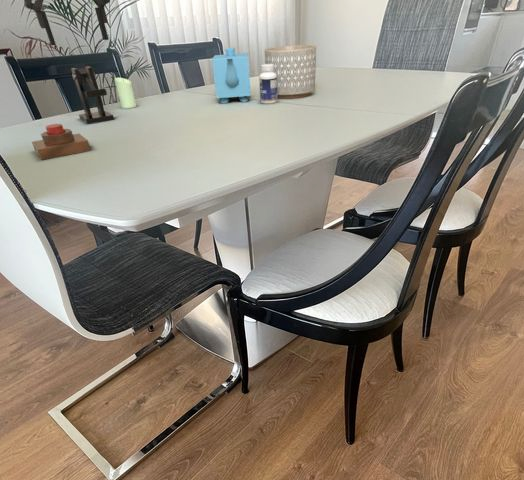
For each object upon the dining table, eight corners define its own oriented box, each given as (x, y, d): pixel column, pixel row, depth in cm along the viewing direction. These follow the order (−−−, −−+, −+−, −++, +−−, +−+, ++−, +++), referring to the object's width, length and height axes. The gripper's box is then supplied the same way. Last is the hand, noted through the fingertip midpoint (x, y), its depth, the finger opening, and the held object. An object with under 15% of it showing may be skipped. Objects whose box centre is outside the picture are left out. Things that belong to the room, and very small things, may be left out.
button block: (41, 160, 86) (33, 140, 83) (35, 151, 92) (28, 133, 89) (91, 150, 90) (84, 131, 87) (82, 143, 96) (76, 124, 93)
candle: (139, 105, 132) (132, 76, 126) (132, 108, 128) (125, 78, 123) (126, 105, 133) (118, 76, 127) (119, 108, 129) (111, 78, 124)
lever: (107, 97, 108) (105, 88, 106) (88, 100, 106) (85, 91, 104) (92, 76, 113) (90, 67, 111) (73, 79, 111) (71, 69, 109)
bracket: (114, 119, 116) (100, 67, 107) (87, 124, 113) (70, 70, 104) (105, 114, 122) (91, 65, 114) (80, 119, 119) (63, 68, 111)
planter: (256, 97, 130) (254, 50, 122) (286, 89, 139) (285, 45, 131) (295, 101, 122) (295, 50, 113) (324, 92, 131) (326, 45, 122)
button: (50, 137, 87) (46, 128, 86) (47, 134, 89) (44, 125, 88) (66, 134, 88) (63, 125, 87) (63, 131, 90) (60, 123, 89)
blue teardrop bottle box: (219, 96, 137) (214, 47, 128) (250, 93, 137) (247, 44, 127) (216, 108, 120) (209, 52, 111) (251, 105, 120) (247, 50, 111)
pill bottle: (257, 103, 123) (254, 65, 117) (268, 100, 126) (267, 63, 119) (269, 104, 120) (267, 66, 114) (280, 101, 123) (280, 63, 116)
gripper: (-15, -82, 80) (32, 47, 94) (104, -80, 89) (130, 37, 103) (-18, -76, 84) (27, 47, 99) (95, -75, 94) (122, 37, 108)
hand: (80, 42), depth 101 cm, fingers open, 13 cm apart
